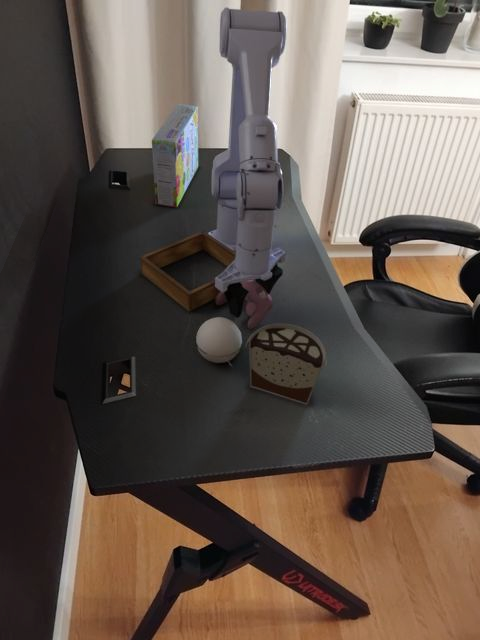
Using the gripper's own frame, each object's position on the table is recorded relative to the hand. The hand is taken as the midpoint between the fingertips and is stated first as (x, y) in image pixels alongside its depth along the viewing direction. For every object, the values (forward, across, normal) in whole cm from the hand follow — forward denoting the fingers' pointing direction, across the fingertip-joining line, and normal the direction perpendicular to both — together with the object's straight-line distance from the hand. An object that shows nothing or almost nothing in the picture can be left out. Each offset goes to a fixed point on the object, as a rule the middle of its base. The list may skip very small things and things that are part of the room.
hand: (247, 307), depth 100 cm
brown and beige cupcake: (+2, -7, -16) cm, 18 cm away
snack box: (+2, +20, +45) cm, 49 cm away
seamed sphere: (+2, -12, -6) cm, 14 cm away
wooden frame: (+2, 0, +14) cm, 14 cm away
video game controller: (+2, 0, +1) cm, 2 cm away
